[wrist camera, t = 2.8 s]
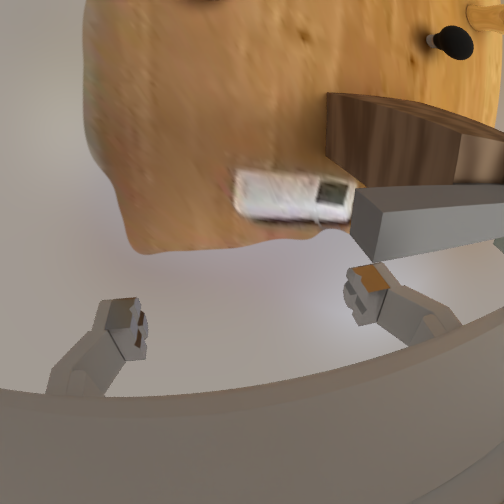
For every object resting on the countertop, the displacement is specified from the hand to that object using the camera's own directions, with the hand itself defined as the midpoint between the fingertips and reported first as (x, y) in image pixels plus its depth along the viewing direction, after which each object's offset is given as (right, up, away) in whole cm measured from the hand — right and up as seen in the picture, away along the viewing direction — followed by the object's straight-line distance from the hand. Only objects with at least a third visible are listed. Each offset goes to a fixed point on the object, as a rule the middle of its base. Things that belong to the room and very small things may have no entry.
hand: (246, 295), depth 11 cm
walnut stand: (+20, +22, +30) cm, 42 cm away
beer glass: (+43, +47, +18) cm, 67 cm away
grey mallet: (+19, +6, +7) cm, 21 cm away
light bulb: (+30, +37, +22) cm, 52 cm away
